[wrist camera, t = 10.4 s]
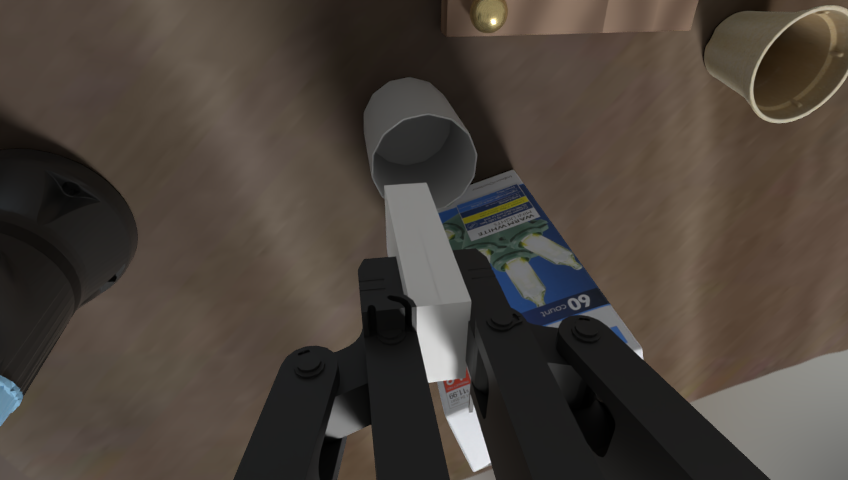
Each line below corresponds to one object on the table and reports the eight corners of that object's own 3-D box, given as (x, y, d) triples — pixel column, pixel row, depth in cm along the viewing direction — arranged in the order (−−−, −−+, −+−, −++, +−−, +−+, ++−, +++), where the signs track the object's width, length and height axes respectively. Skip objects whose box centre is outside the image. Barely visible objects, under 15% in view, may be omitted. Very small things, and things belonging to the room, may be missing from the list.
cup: (389, 60, 43) (403, 94, 35) (466, 101, 47) (496, 141, 38) (348, 142, 47) (353, 190, 39) (423, 176, 50) (442, 226, 42)
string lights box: (514, 166, 51) (649, 344, 30) (528, 224, 55) (654, 416, 34) (394, 211, 52) (442, 416, 30) (417, 265, 56) (473, 478, 35)
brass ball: (464, 30, 41) (473, 37, 38) (466, -11, 39) (476, -6, 36) (500, 29, 41) (511, 36, 38) (503, -12, 39) (515, -7, 37)
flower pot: (797, 34, 48) (879, 54, 41) (719, 112, 52) (782, 143, 44) (750, -32, 44) (832, -23, 37) (668, 57, 47) (729, 81, 40)
